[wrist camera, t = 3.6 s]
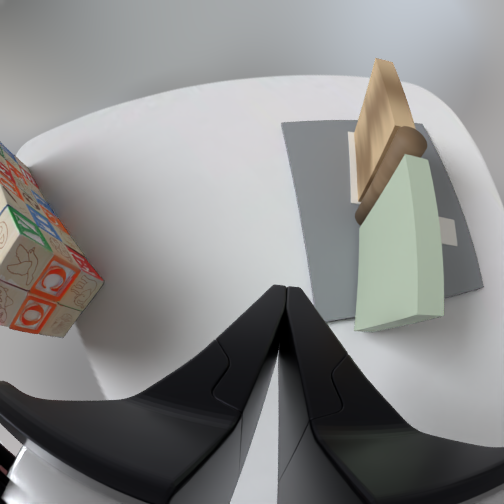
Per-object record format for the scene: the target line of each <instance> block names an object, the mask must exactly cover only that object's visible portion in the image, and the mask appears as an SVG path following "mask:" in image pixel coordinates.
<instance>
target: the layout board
mask: <svg viewBox="0 0 504 504" xmlns="http://www.w3.org/2000/svg"><path fill="white" fill-rule="evenodd" d="M357 122H358V120H324V121H300V122H284V123H281V126H282V131H283V135H284V139H285V144H286V148H287V153H288V158H289V162H290V167H291V172H292V177H293V182H294V187H295V192H296V197H297V203H298V208H299V213H300V219H301V224H302V230H303V236H304V242H305V248H306V254H307V260H308V267H309V273H310V280H311V286H312V293H313V301H314V307H315V308H316V309H317V311H318V312H319V314H320V315H321V316H322V318H323V319H324V321H325V322H328V321H334V320H340V319H346V318H352V317H355V315H356V303H357V287H358V267H359V228H360V225H359V224H358V223H357V221H356V219H355V213H356V211H357V209H358V207H359V205H360V203H361V202H358V191H357V168H356V153H355V140H354V132H355V129H356V125H357ZM414 125H415V128H416V130H417V131H419V132H420V133H421V134H422V135H423V136H424V138H425V139H426V141H427V149H426V151H425V152H424V154H423V155H422V157H421V158H423V159H427V160H428V162H429V166H430V171H431V176H432V181H433V186H434V191H435V197H436V203H437V210H438V217H439V224H440V233H441V243H442V255H443V273H444V298H447V297H451V296H454V295H458V294H462V293H466V292H469V291H473V290H476V289H480V288H482V287H484V286H483V282H482V277H481V273H480V268H479V264H478V260H477V257H476V253H475V249H474V246H473V242H472V239H471V236H470V232H469V229H468V226H467V223H466V220H465V217H464V214H463V212H462V209H461V206H460V204H459V201H458V198H457V196H456V193H455V191H454V188H453V186H452V183H451V181H450V179H449V176H448V174H447V172H446V170H445V168H444V165H443V163H442V161H441V159H440V157H439V155H438V153H437V151H436V149H435V147H434V145H433V143H432V141H431V139H430V137H429V135H428V133H427V132H426V130H425V128H424V126H423V124H418V123H414Z"/></svg>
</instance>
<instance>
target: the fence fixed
mask: <svg viewBox="0 0 504 504" xmlns="http://www.w3.org/2000/svg"><path fill="white" fill-rule="evenodd" d="M354 140H355V153H356V168H357V191H358V202H361V203H360V205H359V207H358V209H357V211H356V213H355V219H356V221H357V223H358V224H359V225H360V226H361V225H362V223H363V222H364V220H365V219H366V217H367V216H368V214H369V213H370V211H371V209H372V208H373V206H374V205H375V203H376V202H377V200H378V198H379V197H380V195H381V194H382V192H383V190H384V189H385V187H386V185H387V184H388V182H389V180H390V179H391V177H392V175H393V174H394V172H395V170H396V169H397V167H398V165H399V164H400V162H401V160H402V158H403V157H404V155H405V154H407V155H411V156H415V157H419V158H421V157H422V155H423V154H424V152H425V151H426V149H427V141H426V139H425V138H424V136H423V135H422V134H421V133H420V132H419V131H417V130H416V128H415V125H414V121H413V118H412V115H411V112H410V108H409V105H408V102H407V99H406V96H405V93H404V91H403V88H402V85H401V82H400V80H399V77H398V75H397V72H396V69H395V67H394V65H393V62H389V61H385V60H381V59H377V58H376V59H375V63H374V66H373V70H372V74H371V77H370V81H369V85H368V88H367V92H366V95H365V99H364V102H363V105H362V109H361V112H360V116H359V119H358V122H357V125H356V129H355V132H354Z"/></svg>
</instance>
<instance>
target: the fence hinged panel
mask: <svg viewBox="0 0 504 504" xmlns="http://www.w3.org/2000/svg"><path fill="white" fill-rule="evenodd" d="M442 316H444V273H443V255H442V243H441V233H440V224H439V217H438V210H437V203H436V197H435V191H434V186H433V181H432V176H431V171H430V166H429V162H428V160H427V159H423V158H419V157H415V156H411V155H407V154H405V155H404V157H403V158H402V160H401V162H400V164H399V165H398V167H397V169H396V170H395V172H394V174H393V175H392V177H391V179H390V180H389V182H388V184H387V185H386V187H385V189H384V190H383V192H382V194H381V195H380V197H379V198H378V200H377V202H376V203H375V205H374V206H373V208H372V209H371V211H370V213H369V214H368V216H367V217H366V219H365V220H364V222H363V223H362V225H361V226H360V228H359V267H358V287H357V303H356V315H355V326H354V331H362V332H376V331H381V330H386V329H391V328H396V327H400V326H405V325H409V324H414V323H418V322H422V321H426V320H430V319H434V318H438V317H442Z"/></svg>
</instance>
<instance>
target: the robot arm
mask: <svg viewBox="0 0 504 504" xmlns="http://www.w3.org/2000/svg"><path fill="white" fill-rule="evenodd" d="M278 350H279V354H278ZM277 356H278V385H279V437H278V496H277V504H504V447H484V446H479V445H473V444H468V443H463V442H458V441H454V440H449V439H445V438H441V437H437V436H433V435H429V434H426V433H423V432H420V431H418V430H417V429H415V428H413V427H412V426H411V425H409V424H408V423H407V422H406V421H405V420H404V419H403V418H402V417H401V416H400V415H399V414H398V412H397V411H396V410H395V409H394V408H393V407H392V406H391V405H390V404H389V403H388V401H387V400H386V399H385V398H384V397H383V396H382V395H381V394H380V393H379V392H378V391H377V389H376V388H375V387H374V386H373V385H372V384H371V382H370V381H369V380H368V379H367V378H366V377H365V375H364V374H363V373H362V372H361V370H360V369H359V368H358V366H357V365H356V364H355V362H354V361H353V359H352V358H351V357H350V355H348V353H347V351H346V350H345V348H344V347H343V346H342V344H341V343H340V341H339V340H338V339H337V337H336V336H335V334H334V333H333V332H332V330H331V329H330V327H329V326H328V325H327V323H326V322H325V321H324V319H323V318H322V316H321V315H320V314H319V312H318V311H317V309H316V308H315V307H314V305H313V304H312V303H311V301H310V300H309V299H308V297H307V296H306V294H305V293H304V292H303V290H302V289H301V288H300V287H291V286H289V287H286V286H283V285H273V286H271V287H270V288H269V289H268V290H267V291H266V292H265V293H264V294H263V295H262V296H261V297H260V298H259V299H258V300H257V301H256V302H255V303H254V304H253V305H252V306H251V307H249V308H248V309H247V310H246V311H245V312H244V313H243V314H242V315H241V316H240V317H239V318H238V319H237V320H236V321H235V322H233V323H232V324H231V325H230V326H229V327H228V328H227V329H226V330H225V331H224V332H223V333H222V334H220V335H219V336H218V337H217V338H216V340H214V341H213V342H212V343H210V344H209V345H208V346H207V347H206V348H205V349H204V350H202V351H201V352H200V353H199V354H198V355H196V356H195V357H194V358H192V359H191V360H190V361H188V362H187V363H186V364H184V365H183V366H181V367H180V368H178V369H177V370H175V371H174V372H172V373H171V374H169V375H168V376H166V377H165V378H163V379H162V380H160V381H159V382H157V383H155V384H154V385H152V386H151V387H149V388H148V389H146V390H144V391H143V392H141V393H139V394H137V395H135V396H132V397H129V398H126V399H121V400H104V401H103V400H102V401H62V400H46V399H40V398H35V397H32V396H29V395H27V394H25V393H23V392H21V391H19V390H18V389H17V388H15V387H14V386H12V385H11V384H9V383H8V382H5V381H0V423H1V424H2V425H3V426H4V427H5V428H6V429H7V430H8V431H9V432H10V433H11V434H12V435H13V436H14V437H15V438H16V439H17V440H18V441H20V443H22V444H23V446H22V448H21V449H20V451H19V453H18V454H17V456H16V457H15V456H14V455H13V454H12V453H11V452H10V451H8V450H7V449H6V448H5V447H4V446H3V445H2V444H1V443H0V504H230V501H231V498H232V496H233V493H234V490H235V488H236V485H237V482H238V479H239V477H240V474H241V471H242V468H243V465H244V462H245V460H246V457H247V454H248V451H249V448H250V445H251V442H252V439H253V436H254V433H255V430H256V426H257V423H258V420H259V417H260V414H261V411H262V407H263V404H264V401H265V398H266V394H267V391H268V388H269V384H270V381H271V377H272V374H273V371H274V367H275V364H276V360H277Z"/></svg>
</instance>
